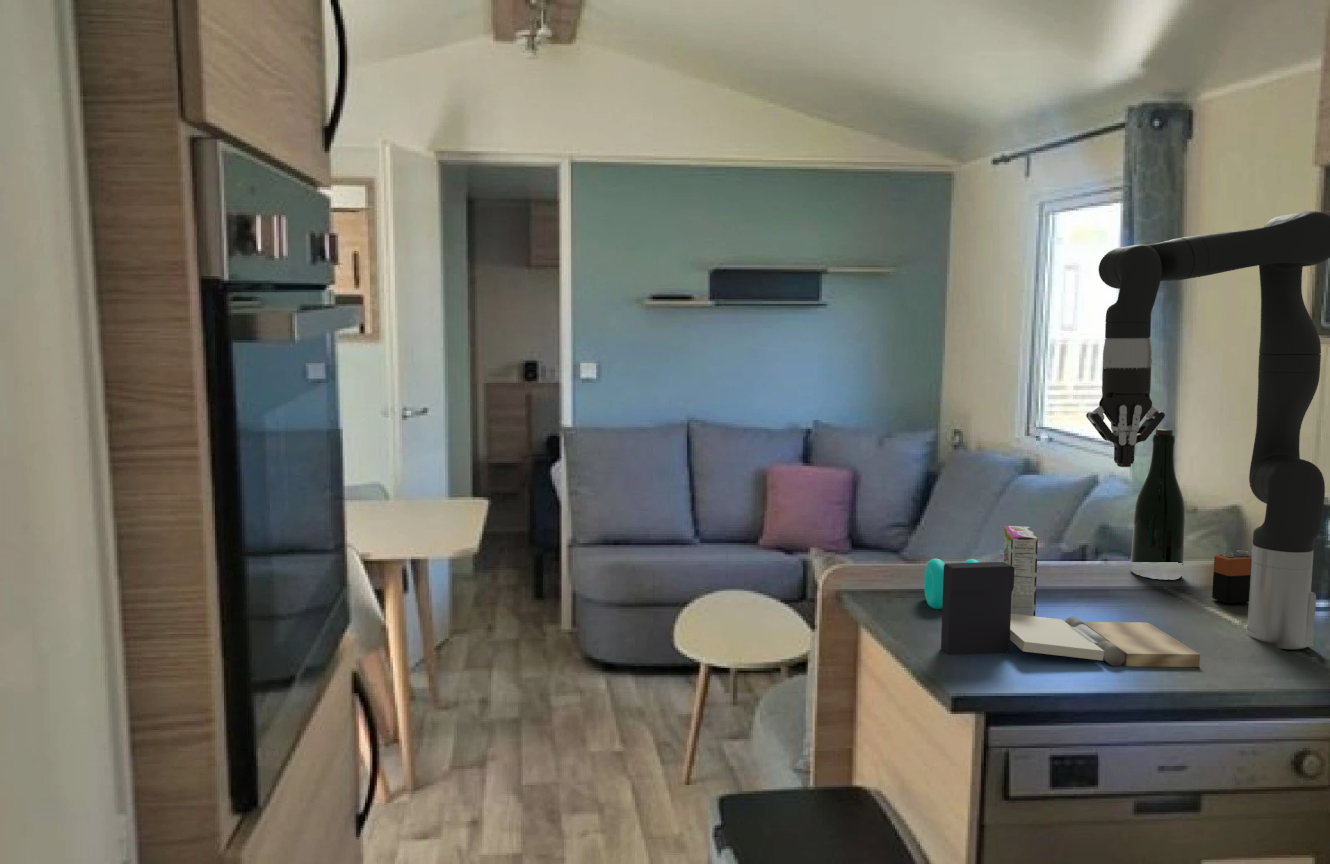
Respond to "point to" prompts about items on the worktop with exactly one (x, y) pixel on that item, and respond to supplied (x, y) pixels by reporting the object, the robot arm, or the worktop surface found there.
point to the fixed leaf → (1139, 645)
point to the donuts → (936, 582)
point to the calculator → (976, 607)
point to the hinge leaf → (1055, 637)
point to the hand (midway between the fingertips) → (1123, 466)
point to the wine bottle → (1160, 508)
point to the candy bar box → (1022, 567)
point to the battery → (1232, 577)
